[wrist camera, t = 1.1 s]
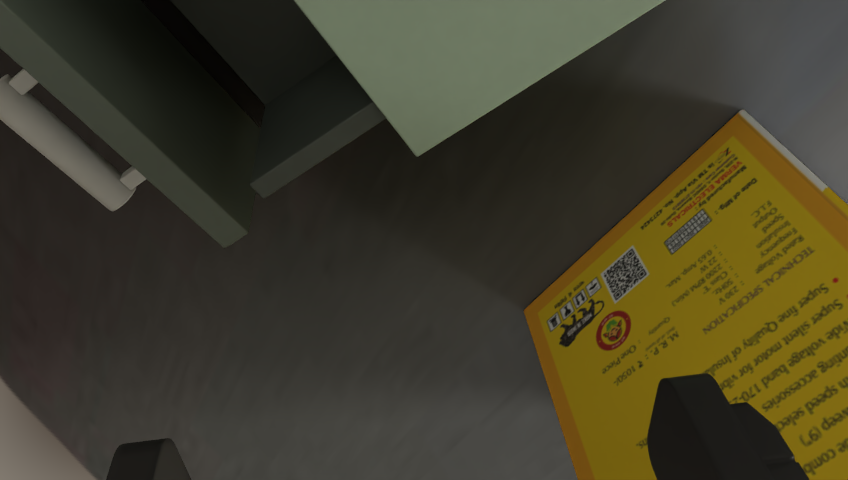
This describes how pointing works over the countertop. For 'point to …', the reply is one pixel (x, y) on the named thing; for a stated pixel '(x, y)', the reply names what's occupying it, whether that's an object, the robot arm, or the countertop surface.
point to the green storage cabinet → (458, 52)
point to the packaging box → (707, 308)
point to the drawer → (180, 100)
